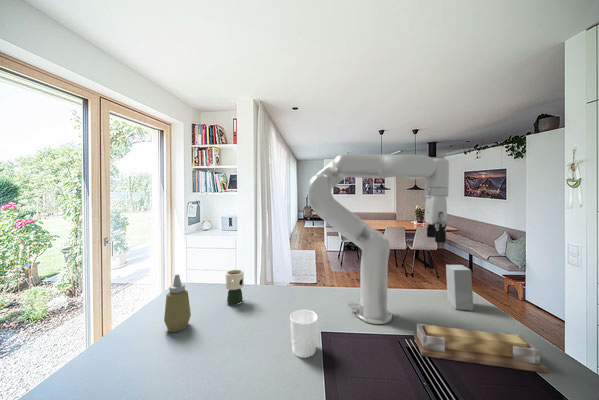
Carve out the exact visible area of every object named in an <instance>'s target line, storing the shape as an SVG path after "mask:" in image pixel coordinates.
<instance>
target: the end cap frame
mask: <svg viewBox="0 0 599 400" xmlns="http://www.w3.org/2000/svg"><path fill="white" fill-rule="evenodd" d="M425 325H428V326H437V325H436V324H428V323H416V331H413V334H412V335H413V337H414V340H415V342H416V345H417V348H418V350H419V352H420V355H421V357H429V358H435V359H441V358H442V360H449V361H458V362H466V363H470V364H471V363H472V364H480V365H485V366H495V367H500V368H501V367H502V368H508V369H516V370H522V371H531V372H537V373H546V374H547V373H548V368H547V367H546V366H545V365H544V364H543V363H542V362H541V361H540V360H541V359H540V358H541V350H539V349H538V347H536V346H535V345H534V344H533V343H531V342H530V341H529V340H528V339H527V338H526V337H525V336H524V335H522V334H517V333H510V332H509V333H508V332H499V331H498V333H500V334H509V335H518V336H519V337H520V338H521V339H522V340H523V341H524V342H525V343H527V348H526V347H518V346H513V357H509V356H501V355H493V354H486V353H478V352H470V351H462V350H455V349H447V348H445V339H444V338H443V337H435V336H426V334H425Z"/></svg>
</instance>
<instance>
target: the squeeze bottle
mask: <svg viewBox="0 0 599 400" xmlns="http://www.w3.org/2000/svg"><path fill="white" fill-rule="evenodd" d="M189 298H190V297H189V291H188V290H187V289H186V284H185V283H182V281H181V277H180V274H179V273H178V274H175V275H174V279H173V283H172V284H171V285H170V286H169V292H168V293H166V297H165V308H164V319H163V321H164V324H165V326H166V328H167V331H168V332H171V333H176V332H181V331H183V330H185V329H186V328H187V327H188V325H189V321H190V319H191V316H192V314H191V307H190V305H191V304H190V299H189Z"/></svg>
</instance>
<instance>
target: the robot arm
mask: <svg viewBox="0 0 599 400" xmlns="http://www.w3.org/2000/svg"><path fill="white" fill-rule="evenodd" d="M449 172H450V162H449V159H447V158H444V157H443V158H442V157H441V158H440V157H437V158H432V157H431V156H428V155H424V154H365V153H362V154H361V153H340V154H338V155H337V156H335V158H333V160H332V161H331V162H329V164H327V165H326V166H325V167H324V168H323V169H321V170H320V171H319V172H317V173H316V174H315V175H313V176H312V177H311V178H310V180H308V185H307V186H308V190H307V191H308V202H309V204H310V207H311V209H312V210H313V212H314V213H315V214H316V215H317V216H318V217H319V218H320V219H322V220H323V221H324V222H326V224H328V225H330V227H332V228H333V229H334V230H335V231H337V232H338V233H339V235H341V236H343V237H344V238H346V239H347V240H349V241H350V242H351V243H353V244H354V245H356V247H358V248H359V249H360V250H361V259H360V273H359V274H360V281H359V284H360V289H359V291H360V292H359V293H360V295H359V297H360V298H359V299H358V300H357V301H349V300H348V301H347V307H349V308H350V310H354V311H355V310H356V311H355V314H356V316H357V317H358V319H360V320H361V321H363V322H365V323H369V324H371V325H385V324H388V323H390V322H391V321H392V319H393V317H392V316H393V315H392V312H390V311H389V310H388V265H389V256H390V249H391V248H390V247H391V245H390V242H389V238H388V237H387V236H386V235H385V234H384V233H383V232H382V231H379V230H377V229H375V228H373V227H372V226H370V225H368V223H366V222H365V221H363V220H362V219H361V217H360V216H359V215H357V214H356V213H354V212H352V211H350V210H349V209H348V208H346V207H345V206H344V205H343V204H341V203H340V202H339V201H338V200H336V199H335V197H334V195H333V193H332V192H333V191H332V190H333V188H335V187H336V186H337V185H339V184H340V183H341V182H342V181H343V180H344V179H345V178H361V179H387V178H397V177H398V178H402V177H403V178H406V179H408V180H417V179H419V180H420V179H424V197H425V198H426V199H425V205H424V222H425V223H426V237H427V238H434V242H435V243H442V244H443V243H446V242H447V239H446V238H447V234H446V233H447V219H448V204H447V198H449V184H450V183H449V181H450V177H449V176H450V173H449Z"/></svg>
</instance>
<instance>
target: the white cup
mask: <svg viewBox="0 0 599 400" xmlns="http://www.w3.org/2000/svg"><path fill="white" fill-rule="evenodd" d="M289 319H290V339H291V347H292V349H291V350H292V354H293V355H295V356H296V357H297V358H301V359H305V358H306V359H307V357H308V358H310V356H311V357H313V356H314V355H315V354H316V351H317V350H316V347H317V338H318V337H317V336H318V321H319V319H318V314H317V313H316V312H314V311H313V310H309V309H298V310H295V311H293V312H292V313H291V314H290V315H289Z"/></svg>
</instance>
